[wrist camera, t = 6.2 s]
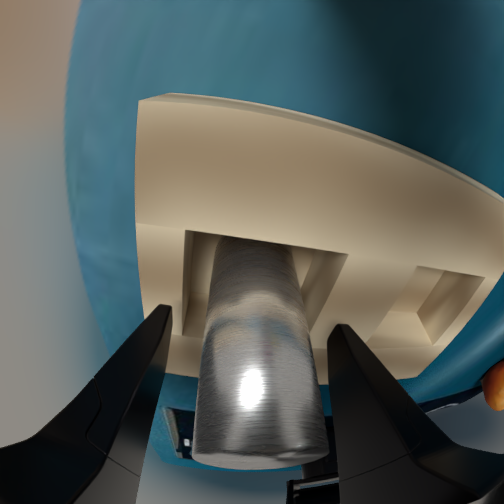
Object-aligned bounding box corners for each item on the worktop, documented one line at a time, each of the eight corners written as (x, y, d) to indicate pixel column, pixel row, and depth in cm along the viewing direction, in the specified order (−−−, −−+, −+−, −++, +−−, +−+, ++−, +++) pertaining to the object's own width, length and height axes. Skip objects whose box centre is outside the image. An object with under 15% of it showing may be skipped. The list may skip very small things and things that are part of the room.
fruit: (463, 400, 27) (494, 424, 19) (480, 353, 26) (516, 373, 18) (492, 387, 27) (520, 406, 19) (506, 344, 26) (539, 359, 19)
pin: (281, 289, 13) (302, 467, 6) (211, 280, 12) (192, 465, 6) (300, 230, 11) (354, 439, 4) (219, 217, 10) (191, 441, 4)
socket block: (402, 342, 17) (416, 376, 14) (164, 325, 15) (153, 370, 12) (495, 192, 10) (530, 221, 7) (170, 93, 8) (138, 100, 6)
